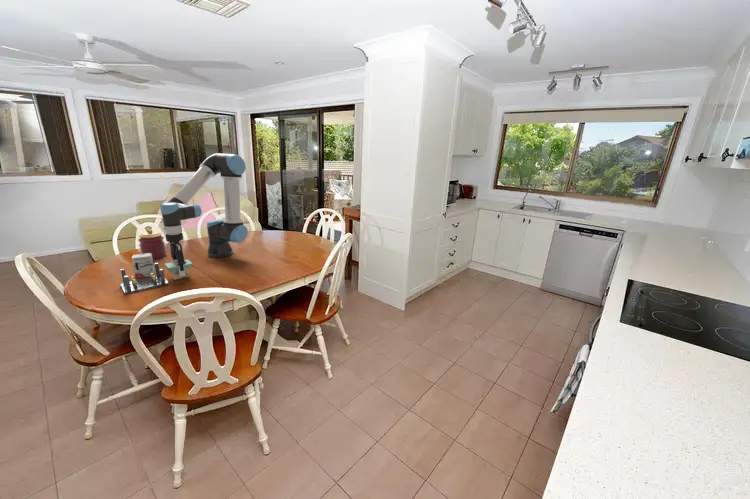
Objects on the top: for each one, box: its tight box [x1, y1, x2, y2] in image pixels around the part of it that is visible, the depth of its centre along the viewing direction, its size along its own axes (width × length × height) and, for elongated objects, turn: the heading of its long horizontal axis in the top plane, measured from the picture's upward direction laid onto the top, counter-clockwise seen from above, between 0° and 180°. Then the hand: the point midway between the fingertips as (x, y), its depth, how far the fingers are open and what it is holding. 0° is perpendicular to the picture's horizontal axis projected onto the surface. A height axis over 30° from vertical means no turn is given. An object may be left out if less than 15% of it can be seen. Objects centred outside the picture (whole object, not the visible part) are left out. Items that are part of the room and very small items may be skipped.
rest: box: [170, 268, 190, 281], centre depth 167 cm, size 7×3×6 cm, turn 135°
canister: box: [137, 229, 167, 260], centre depth 193 cm, size 13×13×18 cm
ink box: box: [131, 253, 156, 279], centre depth 166 cm, size 8×5×12 cm, turn 123°
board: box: [164, 259, 194, 273], centre depth 165 cm, size 11×8×3 cm
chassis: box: [119, 262, 170, 295], centre depth 156 cm, size 18×13×8 cm
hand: (180, 273), depth 167 cm, fingers open, 9 cm apart
